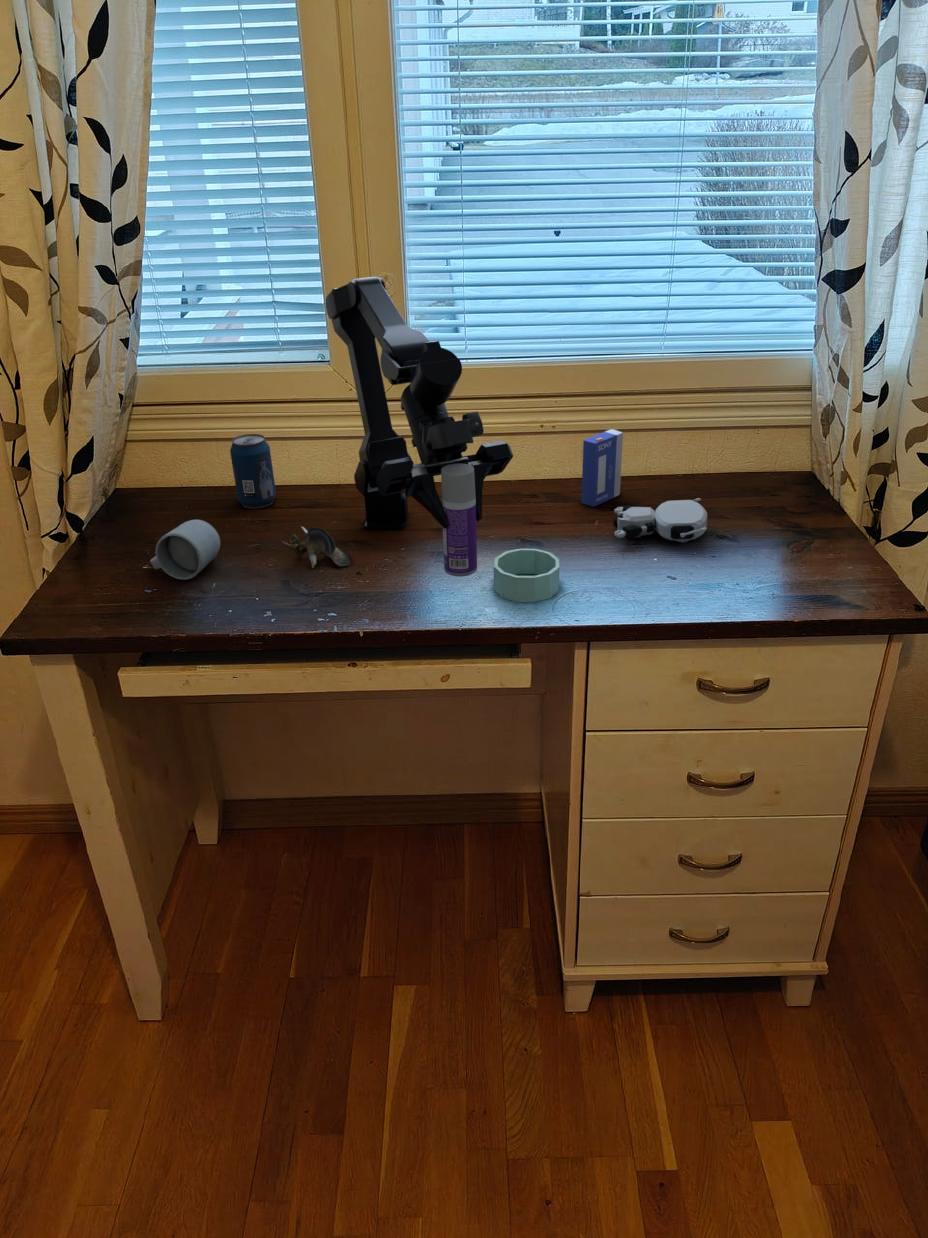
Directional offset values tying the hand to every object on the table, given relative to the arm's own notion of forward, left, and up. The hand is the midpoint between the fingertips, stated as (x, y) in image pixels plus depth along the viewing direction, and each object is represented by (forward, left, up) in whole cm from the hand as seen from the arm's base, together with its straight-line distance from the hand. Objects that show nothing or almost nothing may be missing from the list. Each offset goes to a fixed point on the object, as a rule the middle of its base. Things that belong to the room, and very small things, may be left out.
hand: (463, 523), depth 130 cm
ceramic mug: (-46, +11, -13) cm, 49 cm away
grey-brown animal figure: (-25, +14, -13) cm, 31 cm away
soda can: (-42, +38, -13) cm, 58 cm away
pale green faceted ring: (+8, +7, -13) cm, 17 cm away
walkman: (+20, +41, -13) cm, 48 cm away
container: (-1, +1, -8) cm, 8 cm away
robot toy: (+29, +26, -13) cm, 42 cm away
